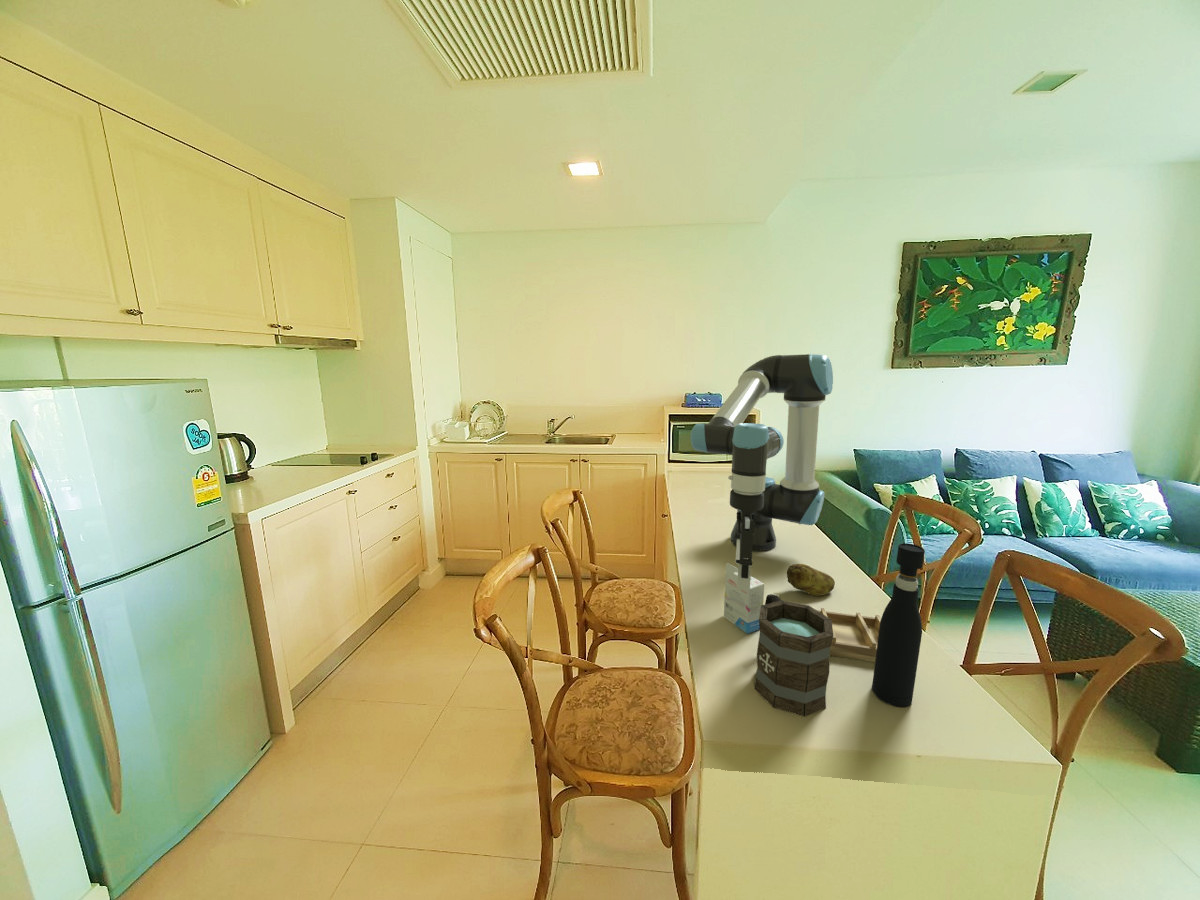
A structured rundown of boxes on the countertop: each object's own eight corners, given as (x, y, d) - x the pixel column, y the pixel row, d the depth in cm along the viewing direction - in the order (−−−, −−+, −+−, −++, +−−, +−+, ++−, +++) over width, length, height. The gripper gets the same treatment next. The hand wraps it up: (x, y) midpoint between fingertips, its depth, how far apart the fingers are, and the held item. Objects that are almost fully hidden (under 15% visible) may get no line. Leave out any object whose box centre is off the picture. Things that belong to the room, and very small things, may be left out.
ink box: (762, 628, 104) (766, 571, 101) (747, 634, 102) (750, 576, 99) (737, 611, 112) (740, 557, 109) (722, 616, 109) (724, 561, 107)
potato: (839, 603, 115) (842, 575, 113) (787, 597, 118) (789, 569, 116) (831, 587, 122) (834, 561, 121) (782, 582, 126) (784, 556, 124)
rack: (785, 617, 108) (786, 602, 108) (876, 629, 103) (878, 614, 102) (793, 649, 96) (794, 633, 95) (896, 665, 91) (899, 648, 90)
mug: (842, 716, 78) (850, 642, 75) (766, 716, 78) (772, 641, 75) (796, 646, 97) (801, 585, 94) (735, 646, 98) (739, 585, 95)
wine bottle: (864, 683, 86) (881, 541, 80) (894, 681, 86) (914, 539, 81) (888, 708, 80) (908, 556, 74) (920, 706, 80) (943, 554, 74)
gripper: (729, 476, 113) (725, 553, 117) (731, 505, 90) (726, 599, 94) (760, 478, 111) (755, 556, 115) (769, 508, 88) (763, 604, 92)
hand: (742, 576), depth 105 cm, fingers open, 13 cm apart
